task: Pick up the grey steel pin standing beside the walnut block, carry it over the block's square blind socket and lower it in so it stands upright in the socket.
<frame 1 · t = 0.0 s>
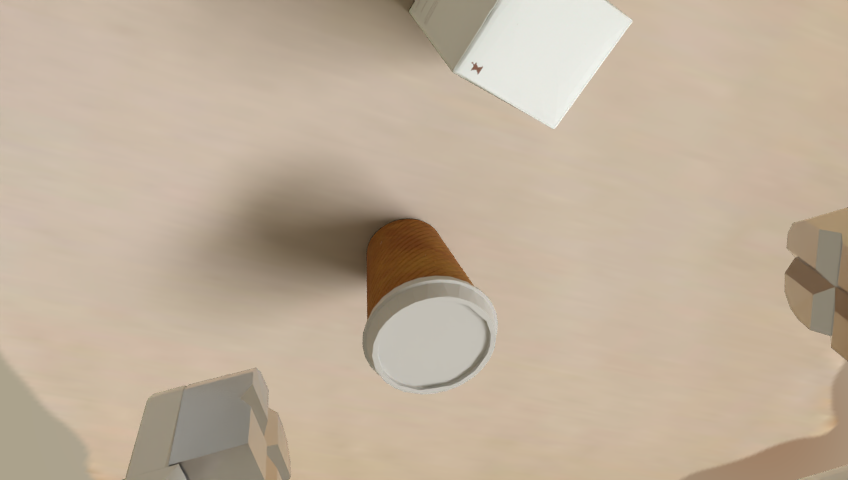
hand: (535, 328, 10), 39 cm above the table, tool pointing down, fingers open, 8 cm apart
disposable coffee cup: (404, 250, 56), on the table
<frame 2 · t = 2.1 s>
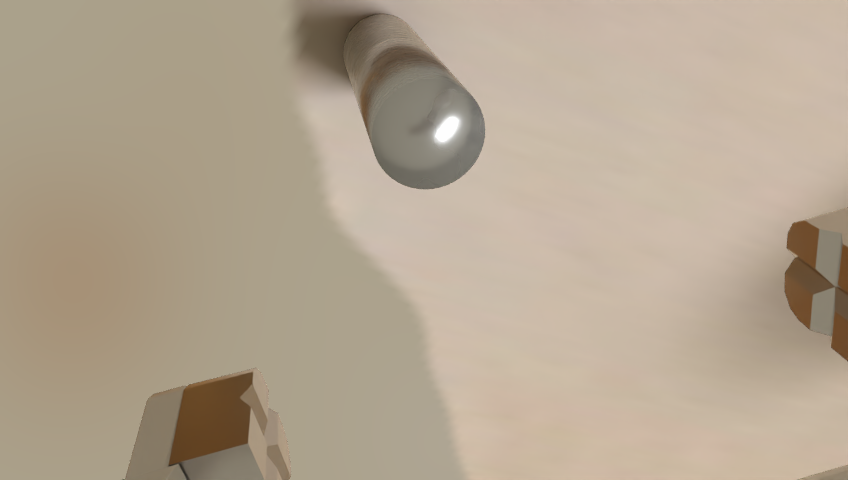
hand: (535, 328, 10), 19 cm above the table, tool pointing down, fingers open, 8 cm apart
pin: (381, 54, 27), on the table
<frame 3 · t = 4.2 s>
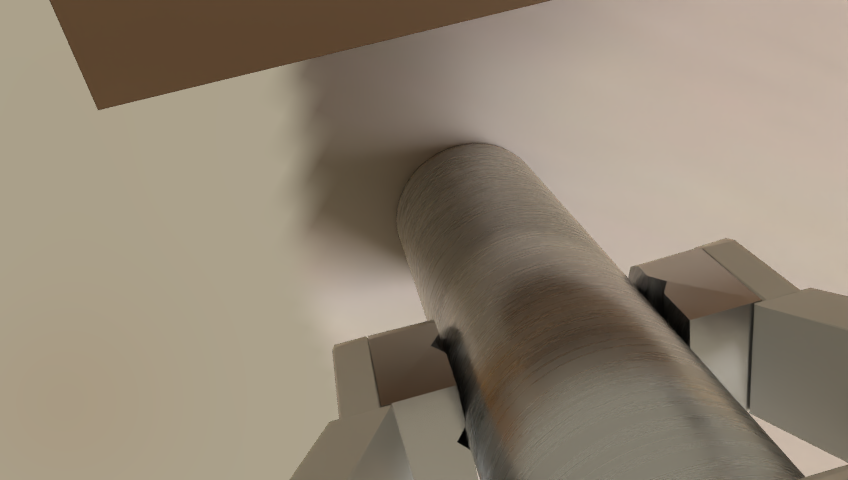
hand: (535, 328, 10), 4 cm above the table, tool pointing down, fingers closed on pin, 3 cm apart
pin: (469, 214, 14), on the table, touching gripper
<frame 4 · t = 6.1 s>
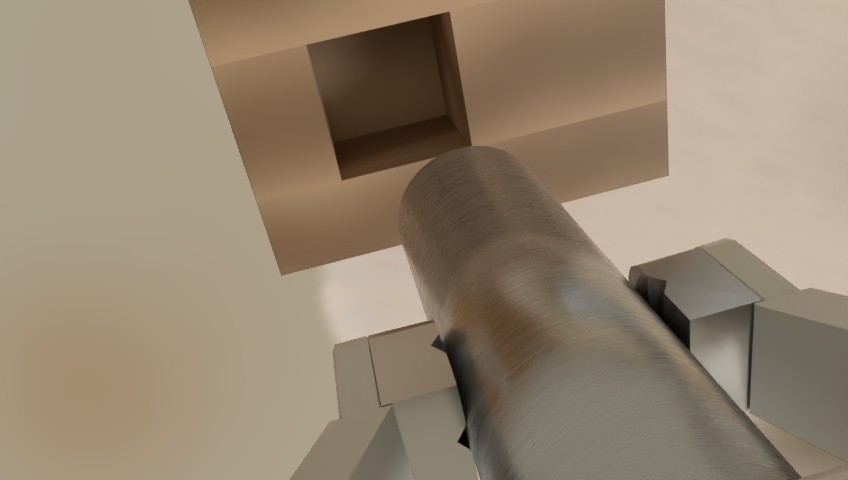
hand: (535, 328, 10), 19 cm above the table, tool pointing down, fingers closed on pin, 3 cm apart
pin: (470, 216, 14), point 15 cm above the table, touching gripper
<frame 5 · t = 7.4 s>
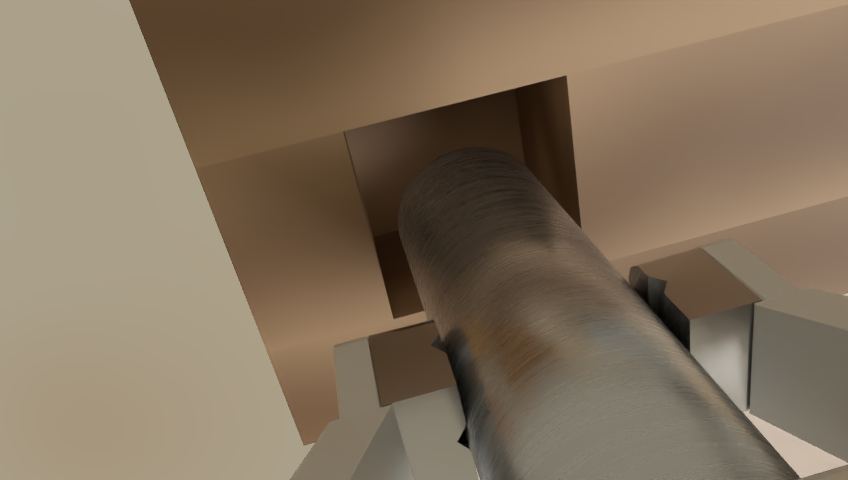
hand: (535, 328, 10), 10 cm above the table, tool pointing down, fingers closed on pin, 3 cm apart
pin: (470, 217, 14), point 6 cm above the table, touching gripper
socket block: (480, 30, 18), on the table
when the fingers open (8 cm above the table, at t = 8.1 s): pin drops 1 cm, resting on socket block.
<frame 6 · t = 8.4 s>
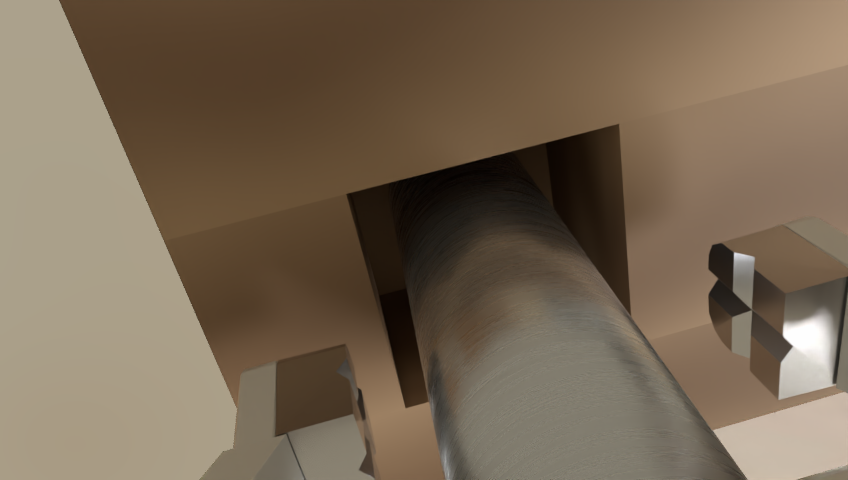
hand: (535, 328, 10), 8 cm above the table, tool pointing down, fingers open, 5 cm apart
pin: (456, 192, 15), point 2 cm above the table, touching socket block
socket block: (502, 58, 16), on the table
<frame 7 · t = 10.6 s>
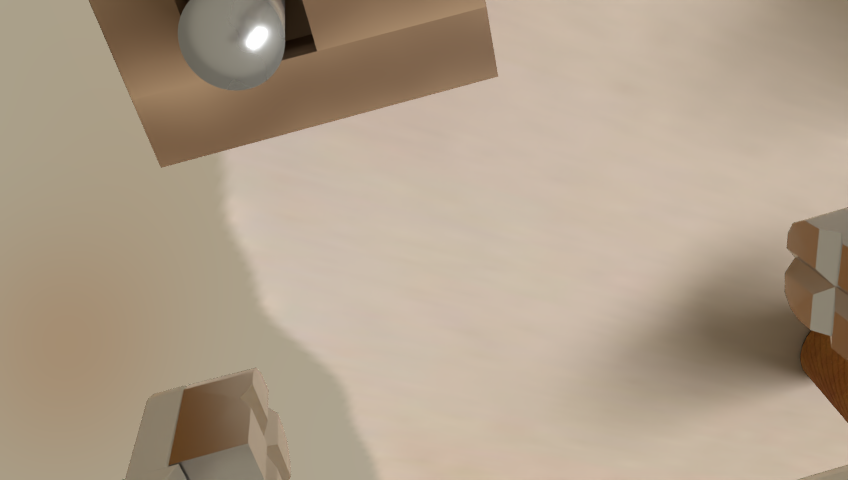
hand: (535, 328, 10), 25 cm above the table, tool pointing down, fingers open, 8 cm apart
disposable coffee cup: (840, 341, 47), on the table
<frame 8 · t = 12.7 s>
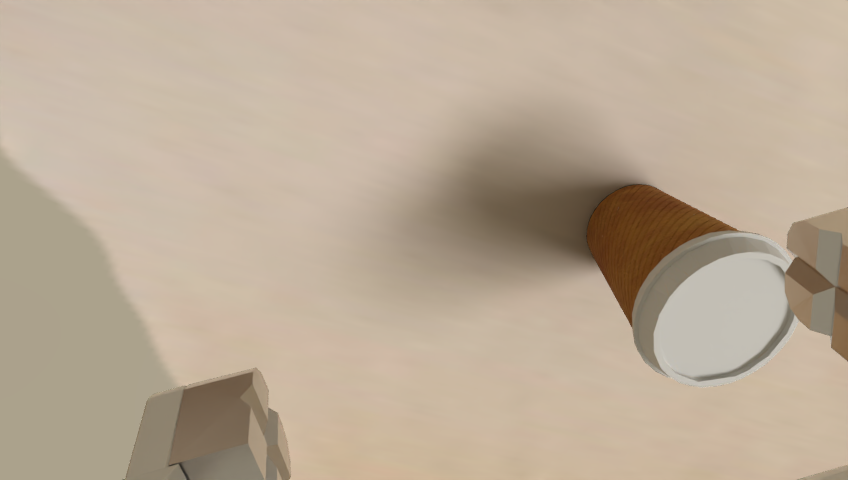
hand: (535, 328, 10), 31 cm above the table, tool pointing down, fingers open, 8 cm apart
disposable coffee cup: (628, 225, 47), on the table
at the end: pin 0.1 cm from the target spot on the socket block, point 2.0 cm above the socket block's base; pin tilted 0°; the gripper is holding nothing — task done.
